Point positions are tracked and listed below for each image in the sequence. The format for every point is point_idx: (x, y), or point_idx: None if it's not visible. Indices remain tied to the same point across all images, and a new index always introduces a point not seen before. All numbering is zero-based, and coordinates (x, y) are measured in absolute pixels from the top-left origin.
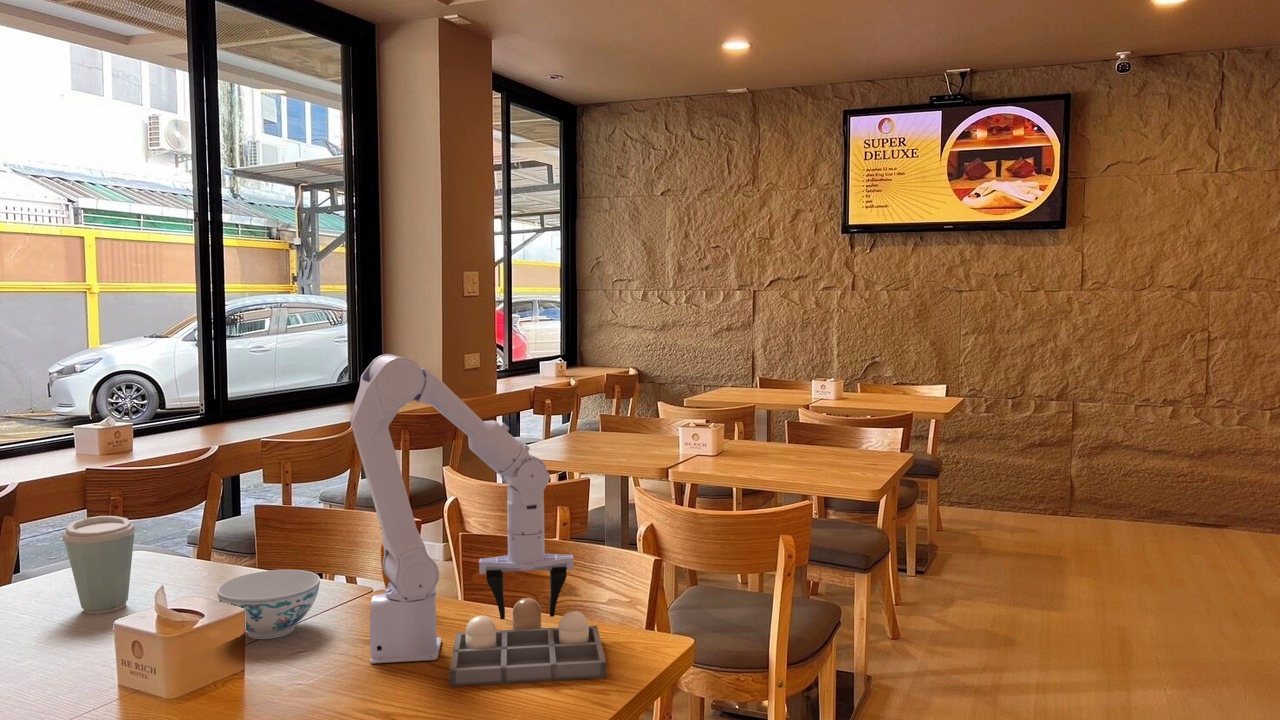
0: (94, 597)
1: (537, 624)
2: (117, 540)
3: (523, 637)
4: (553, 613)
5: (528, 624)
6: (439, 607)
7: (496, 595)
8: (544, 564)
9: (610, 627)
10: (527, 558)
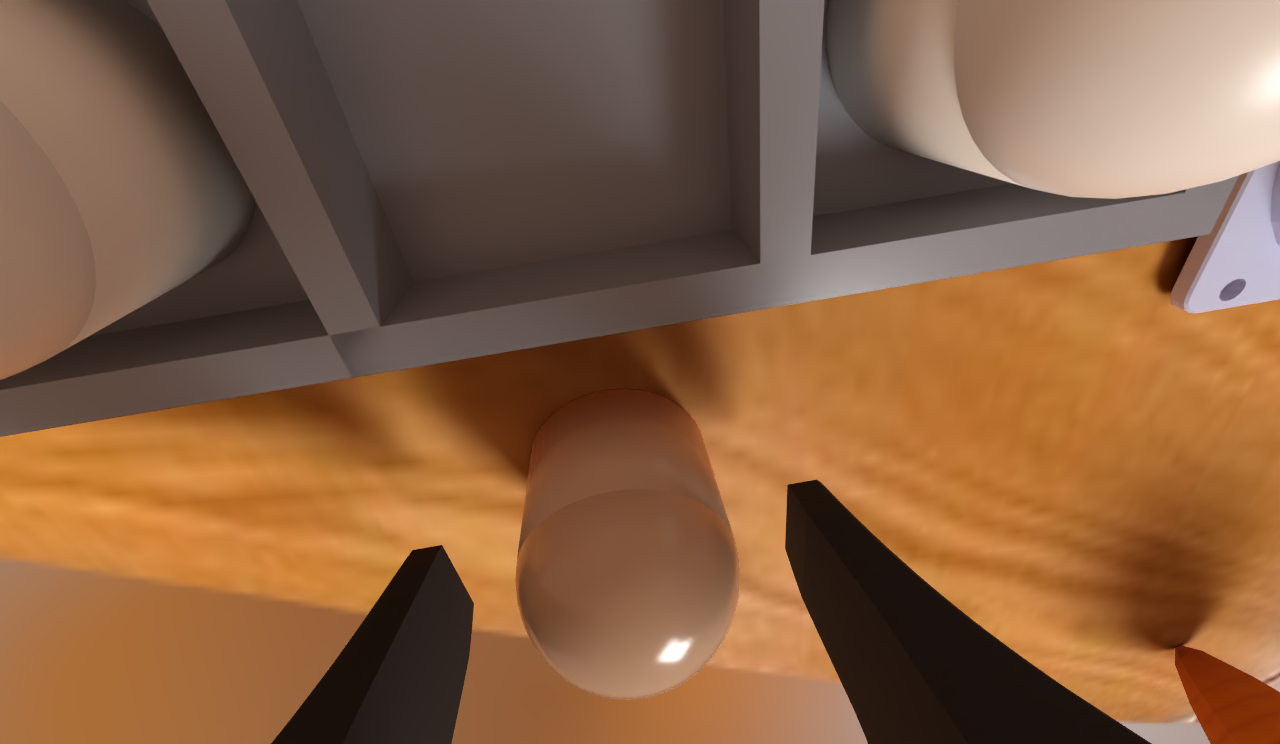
0: None
1: (536, 475)
2: None
3: (606, 265)
4: (402, 568)
5: (597, 451)
6: (1024, 648)
7: (999, 661)
8: None
9: (110, 553)
10: None
